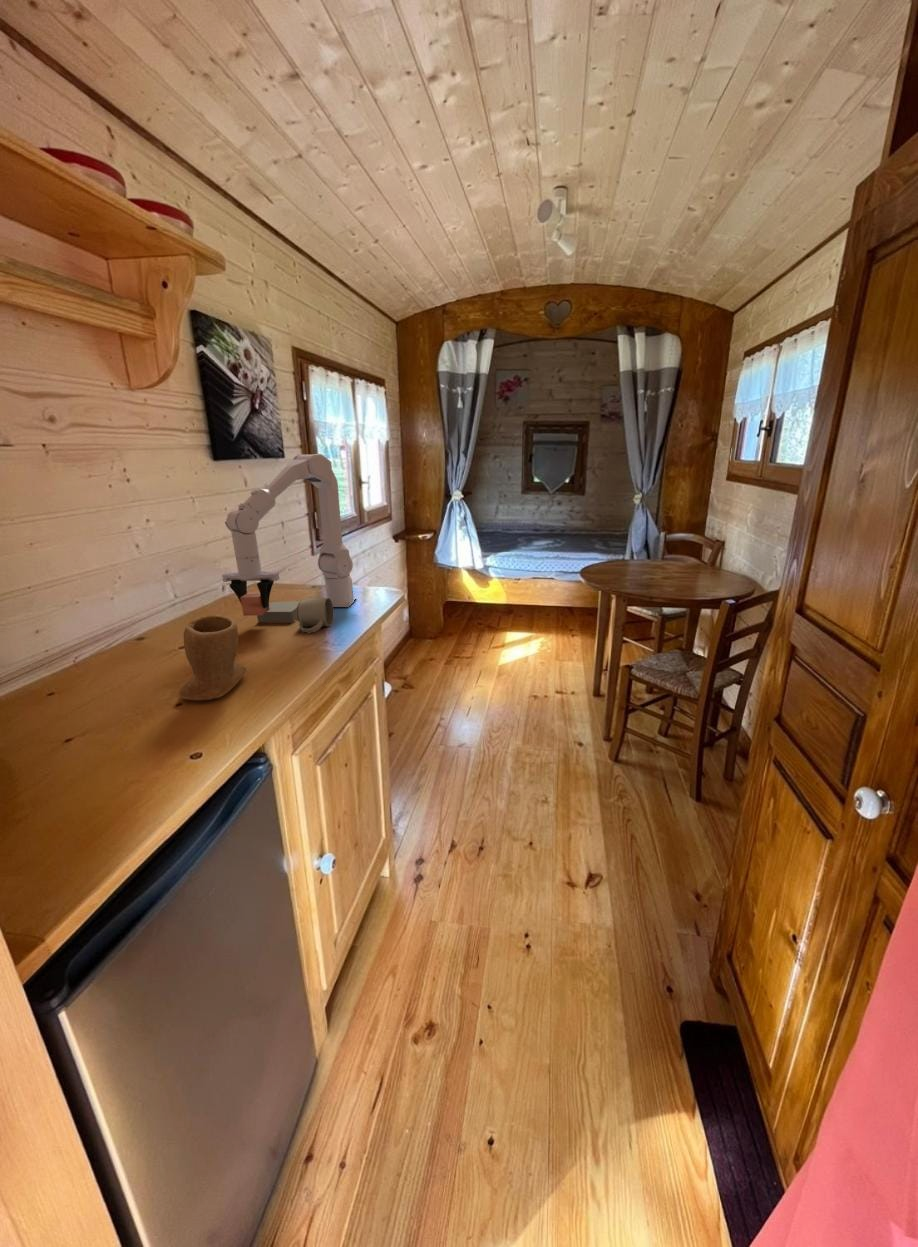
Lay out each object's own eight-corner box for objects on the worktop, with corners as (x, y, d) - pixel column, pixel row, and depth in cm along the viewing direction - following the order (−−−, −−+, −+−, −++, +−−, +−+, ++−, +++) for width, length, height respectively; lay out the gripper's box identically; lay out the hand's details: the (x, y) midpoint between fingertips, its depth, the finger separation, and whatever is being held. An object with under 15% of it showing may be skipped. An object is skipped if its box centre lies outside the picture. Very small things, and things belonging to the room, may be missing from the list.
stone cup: (232, 705, 102) (218, 629, 98) (170, 705, 103) (154, 631, 98) (263, 672, 117) (252, 605, 112) (209, 673, 117) (195, 607, 112)
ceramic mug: (306, 621, 150) (303, 594, 148) (335, 620, 149) (332, 594, 147) (292, 634, 140) (288, 606, 138) (323, 634, 140) (319, 605, 137)
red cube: (251, 609, 148) (248, 592, 146) (269, 609, 147) (266, 591, 146) (243, 615, 143) (240, 597, 141) (261, 615, 143) (258, 597, 141)
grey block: (273, 613, 160) (271, 602, 159) (306, 613, 159) (304, 601, 158) (258, 624, 151) (256, 612, 149) (293, 623, 150) (291, 611, 148)
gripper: (212, 560, 137) (222, 611, 142) (268, 559, 136) (276, 611, 140) (226, 555, 144) (235, 604, 148) (279, 553, 143) (286, 603, 147)
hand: (255, 607), depth 145 cm, fingers closed on red cube, 5 cm apart
